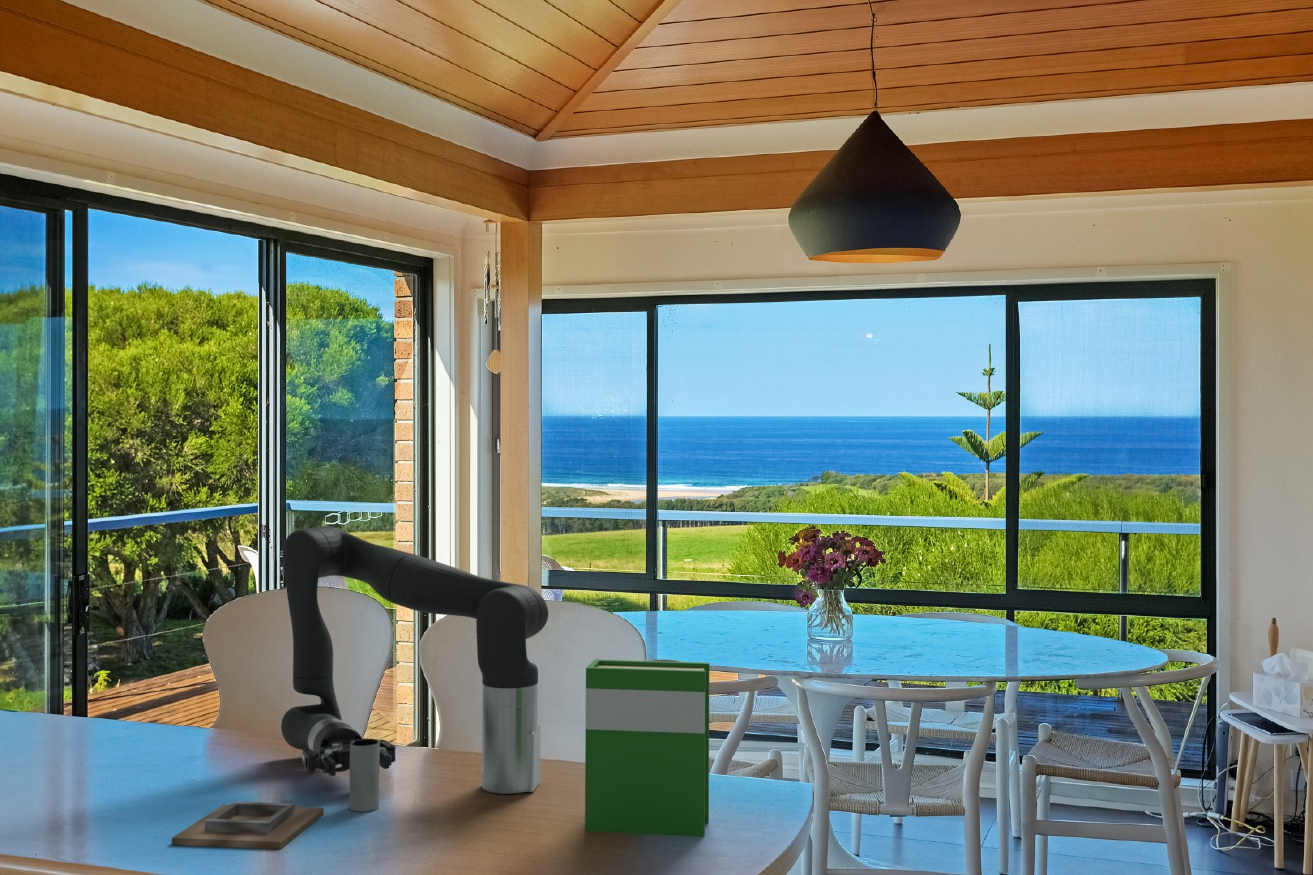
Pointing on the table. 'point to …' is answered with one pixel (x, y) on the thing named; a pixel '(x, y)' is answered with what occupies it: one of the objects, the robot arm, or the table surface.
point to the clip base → (249, 826)
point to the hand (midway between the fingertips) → (360, 765)
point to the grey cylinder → (364, 775)
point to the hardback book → (647, 747)
